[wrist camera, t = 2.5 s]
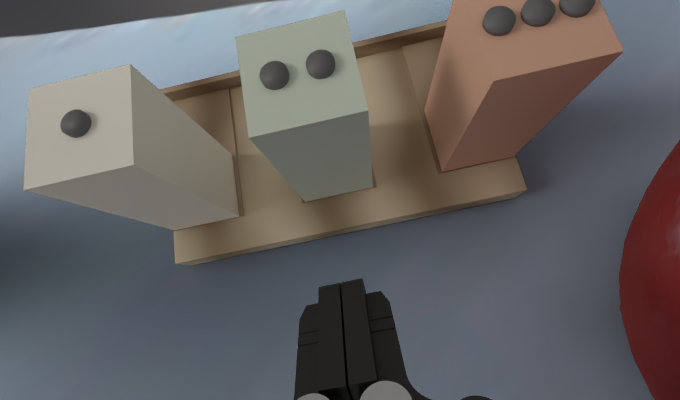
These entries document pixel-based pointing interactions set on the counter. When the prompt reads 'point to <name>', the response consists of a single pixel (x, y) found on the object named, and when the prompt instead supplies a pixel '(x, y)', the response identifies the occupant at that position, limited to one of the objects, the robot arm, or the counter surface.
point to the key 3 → (511, 73)
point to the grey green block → (308, 105)
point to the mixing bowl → (655, 282)
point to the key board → (386, 158)
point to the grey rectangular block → (126, 152)
